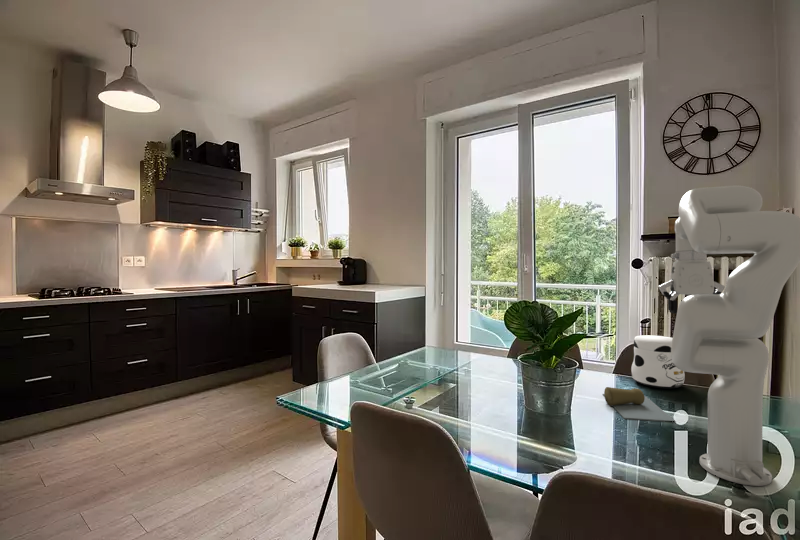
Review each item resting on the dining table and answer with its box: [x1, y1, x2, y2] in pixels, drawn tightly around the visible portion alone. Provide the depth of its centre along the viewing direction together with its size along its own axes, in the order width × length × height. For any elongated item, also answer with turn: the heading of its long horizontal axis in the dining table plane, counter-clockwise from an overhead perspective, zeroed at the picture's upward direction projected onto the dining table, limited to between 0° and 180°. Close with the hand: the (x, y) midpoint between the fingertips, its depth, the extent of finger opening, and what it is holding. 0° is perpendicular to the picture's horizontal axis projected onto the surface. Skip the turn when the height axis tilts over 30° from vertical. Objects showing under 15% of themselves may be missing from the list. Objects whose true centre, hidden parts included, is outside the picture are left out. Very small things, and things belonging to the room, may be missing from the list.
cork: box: [603, 386, 645, 407], centre depth 131 cm, size 6×6×11 cm
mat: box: [602, 393, 676, 423], centre depth 129 cm, size 22×14×1 cm, turn 168°
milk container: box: [630, 334, 686, 389], centre depth 152 cm, size 17×17×18 cm
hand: (690, 313), depth 119 cm, fingers open, 9 cm apart
